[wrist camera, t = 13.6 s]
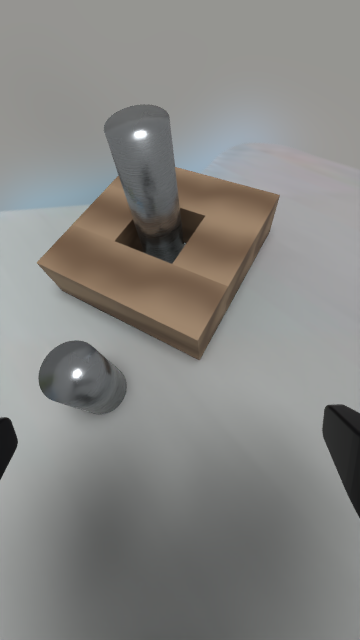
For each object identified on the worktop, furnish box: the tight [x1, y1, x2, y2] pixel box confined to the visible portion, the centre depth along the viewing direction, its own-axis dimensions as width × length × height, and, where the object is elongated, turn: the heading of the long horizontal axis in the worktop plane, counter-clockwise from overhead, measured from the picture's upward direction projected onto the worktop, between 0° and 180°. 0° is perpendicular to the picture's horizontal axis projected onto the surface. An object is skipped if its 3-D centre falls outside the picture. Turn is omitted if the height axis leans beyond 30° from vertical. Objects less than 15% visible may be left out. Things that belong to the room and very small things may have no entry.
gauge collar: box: [37, 167, 280, 360], centre depth 25 cm, size 16×16×4 cm
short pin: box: [39, 341, 126, 414], centre depth 19 cm, size 4×4×6 cm
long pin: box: [104, 105, 184, 264], centre depth 21 cm, size 4×4×13 cm
